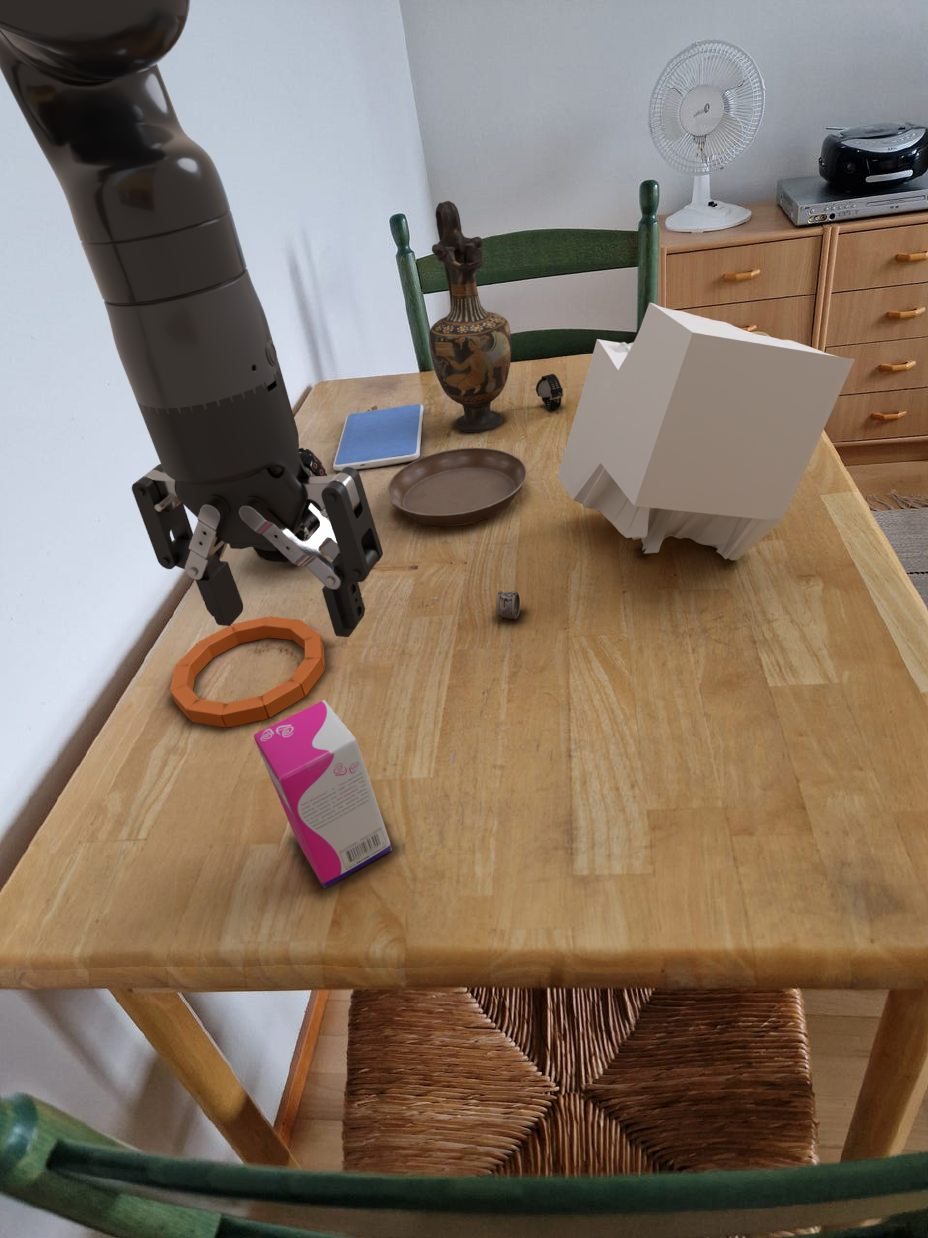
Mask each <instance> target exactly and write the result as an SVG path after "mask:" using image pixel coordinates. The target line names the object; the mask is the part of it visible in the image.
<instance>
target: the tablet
mask: <svg viewBox="0 0 928 1238" xmlns="http://www.w3.org/2000/svg"><path fill="white" fill-rule="evenodd" d="M424 407H425V406H424V405H423V404H419V403H416V404H409V405H402V406H401V405H400V406H394V407H387V408H381V409H375V410H374V409H373V410H368V411H361V412H355V413H350V414H348V415H346V418H345V422H344V424H343V429H342V431H341V436H340V439H339V443H338V447H337V449H336V452H335V457H334V460H333V464H332V468H333V470H334V471H337V472H340V471H341V470H342V469H343V468H345V467H351V468H354V469H355V470H364V469H365V470H366V469H372V468H379V467H380V468H381V467H385V466H393V465H397V464H403V463H409V462H414V461H416V460H418V459H420V456H421V442H422V431H423V419H424V411H425V408H424Z"/></svg>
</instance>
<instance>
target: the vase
mask: <svg viewBox="0 0 928 1238" xmlns="http://www.w3.org/2000/svg"><path fill="white" fill-rule="evenodd" d="M435 220H436V222H435V223H436V230H437V234H438V239H439V241H438V242H437V243H433V244H432V246H431V252H432V253H433V254H434V256H436V258H437V261H439V262H441V263H443V265H444V270H445V277H446V282H447V287H448V293H449V305H450V308H449V309H450V310H449V313H448V314H447V315H446V316H444V317H442V318H440V319H439V320H437V321H436V322H435V323H434V324H432V326H430V329H429V334H428V346H429V352H430V358H431V363H432V366H433V370H434V372H435V375H436V378H437V380H438V382H439V384H440V386H441V388H442V390H443V392H444V393H445V394H446V395H447V397H448V398H449V399H451V400H452V401H454V402H455V403H457V404H459V405H460V406H462V408H463V415H462V416H460V417H459V418H458V419H456V421H455V428H456V429H457V430H459V431H461V432H465V433H466V432H467V433H478V432H479V433H481V432H486V431H490V430H493V429H495V428H497V427H499V426H500V425H501V424H502V423H503V420H504V419H503V417H502V415H501V414H500V413H499V412H497V411H495V410H491V405H492V402H493V401H494V400H495V399H496V398H497V397H499V396H500V395H501V393H502V392H503V391H504V389H505V386H506V384H507V381H508V377H509V375H510V368H511V361H512V333H511V327H510V324H509V321H508V320H507V319H506V318H505V317H504V316H503V315H501V314H499V313H496V312H492V311H488V310H486V309H485V308H484V307H483V305H482V304H481V300H480V297H479V292H478V286H477V285H478V284H477V276H476V275H477V274H476V270H478V269H480V268H481V267H483V265H484V264H485V257H484V253H483V251H482V250H481V249H480V248H481V247H483V245H484V240H483V239H482V237H480V236H475V237H472V238H471V237H466V236H465V235H464V233H463V232H462V231H463V229H462V224H461V217H460V212H459V209H458V207H457V206H456V204H455V203H454V202H452V201H451V200H446V201H443V202H439V203H438V204H437V206H436V208H435Z"/></svg>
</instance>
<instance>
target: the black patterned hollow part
mask: <svg viewBox="0 0 928 1238" xmlns="http://www.w3.org/2000/svg"><path fill="white" fill-rule="evenodd" d="M299 455H300V459H301V461H302V463H303V465H304V466H305V468H306V469H307V470H308V471H309V473H310V474H311V475H312V477H314V476H329V475H328V474H327V472H326V468H325V467H324V465H323V462H322V461H321V460H320V459H319V458H318V457H317V455H315V454H314V452H313V451H311V450H310V449H309V448H304V447H299ZM311 503H312V504H313V505H314V506H315V507H316V508H317V509H318V510H319V511H321V508H320V506H319V505H318V504H317V503H316V502H315V501H313V500H312V501H311ZM295 536H296V537H297V538H298V539H299V540H301V541H305V540H306V539H307V538H308V536H309V531H308V529H307V528H306V527H305V526H304V525H303V524H301V526H300V528H299V530H298V532H297V533H296V534H295ZM252 548H253V550H254V552H255V553H256V554H257V556H258V557H259V558H261V560H264V561H266V562H273V563H274V562H277V563H278V562H279V563H287V562H291V561H290V560H289V559H288V558H287V557H286V556H284V555H283V554H282V553H281V552H280V551H279V550H277V551H267V550H262V549H258V548H255V547H252Z"/></svg>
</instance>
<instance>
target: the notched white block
mask: <svg viewBox="0 0 928 1238" xmlns="http://www.w3.org/2000/svg"><path fill="white" fill-rule="evenodd" d="M855 361H856V359H855V358H854V357H852V358H849V357H842V356H838V355H835V354H830V353H827V352H824V351H822V350H820V349H816V348H814V347H811V346H809V345H806V344H803V343H799V342H797V341H794V340H791V339H786V338H785V339H780V338H777V337H774V336H773V337H772V336H768V335H761V334H758V333H754V332H751V331H748V330H744V329H742V328H740V327H737V326H735V325H732V324H731V323H729V322H725V321H724V320H722V321H720V320H715V319H711V318H707V317H703V316H700V315H696V314H693V313H688V312H685V311H682V310H677V309H676V310H675V309H671V308H666V307H663V306H660V305H657V304H656V303H652V302H648V306H647V309H646V312H645V314H644V317H643V319H642V322H641V324H640V328H639V330H638V332H637V335H636V337H635V339H634V341H632V342H630V343H626V342H625V341H623V342H617V341H612V340H611V341H610V340H604V339H600V338H599V339H598V338H597V339H596V341H595V345H594V349H593V352H592V356H591V359H590V361H589V362H590V363H589V366H588V369H587V373H586V377H585V378H584V379H585V380H584V383H583V386H582V390H581V393H580V396H579V399H578V400H579V401H578V404H577V407H576V411H575V414H574V418H573V422H572V424H571V428H570V431H569V435H568V439H567V442H566V446H565V449H564V452H563V455H562V458H561V462H560V465H559V469H558V473H557V479H558V481H559V482H560V484H561V485H562V487H563V488H564V491H566V493H567V495H568V496H569V497H570V498H571V500H572V501H574V502H577V503H578V504H581V505H582V506H583V508H585V509H593V510H595V511H597V512H599V513H601V514H602V515H603V517H605V518H606V520H608V521H609V522H610V523H611V524H612V525H613V526H614V527H615V529H616V530H617V531H618V532H619V533H620V534H621V535H622V536H623V537H625V538H627V539H629V538H632V541H634V540H635V541H636V540H639V539H641V542H642V545H643V546H642V550H641V551H644V550H645V551H644V552H643V554H653V553H654V554H656V553H659V552H660V548H661V546H662V543H663V541H665V539H666V538H669V537H675V538H676V539H691V540H692V541H694V542H695V543H698V544H700V545H703V546H710V547H713V548H715V549H717V550H716V551H715V552H716V553H717V554H719V555H721V556H722V557H723V558H724V560H727V559H729V560H730V561H738V560H740V559H741V558H742V557H743V556H744V555H746V554H747V553H748V552H749V551H750V550H751V549H753V548H754V547H755V546H756V545H757V544H758V543H760V542H761V541H762V540H763V539H765V537H767V535H768V534H770V533H771V532H772V531H773V530H774V529H776V528H777V527H778V526H779V525H780V524H782V522H783V521H784V519H785V517H786V515H787V512H788V510H789V508H790V506H791V504H792V502H793V498H794V497H795V494H796V493H797V490H798V488H799V485H800V483H801V481H802V480H803V479H802V478H803V476H804V474H805V472H806V470H807V468H808V466H809V463H810V461H811V458H812V456H813V454H814V452H815V450H816V448H817V445H818V443H819V440H820V438H821V437H822V434H823V432H824V430H825V427H826V426H827V423H828V421H829V418H830V416H831V414H832V412H833V410H834V408H835V405H836V403H837V401H838V398H839V396H840V394H841V391H842V390H843V387H844V386H845V382H846V380H847V378H848V376H849V374H850V372H851V369H852V367H853V365H854V363H855Z"/></svg>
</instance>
